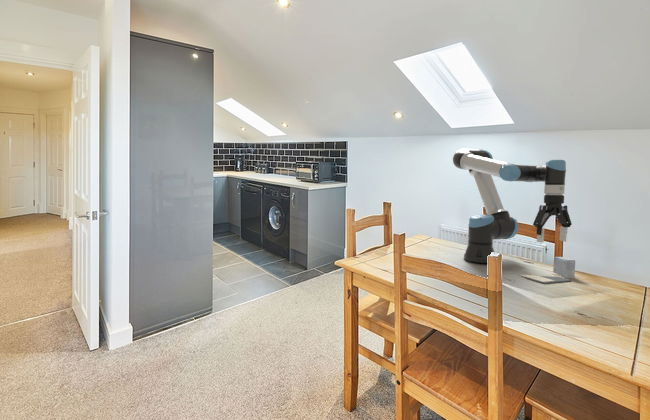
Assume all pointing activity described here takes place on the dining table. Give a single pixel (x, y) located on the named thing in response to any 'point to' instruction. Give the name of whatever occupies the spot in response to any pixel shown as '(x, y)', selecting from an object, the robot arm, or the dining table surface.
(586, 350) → the dining table surface
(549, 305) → the dining table surface
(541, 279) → the mat
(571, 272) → the medicine box
